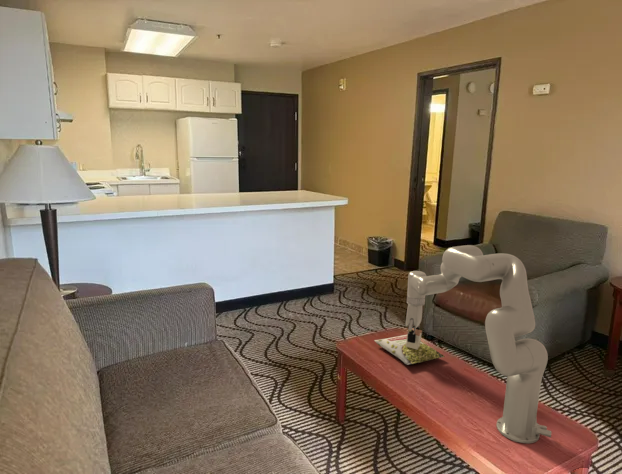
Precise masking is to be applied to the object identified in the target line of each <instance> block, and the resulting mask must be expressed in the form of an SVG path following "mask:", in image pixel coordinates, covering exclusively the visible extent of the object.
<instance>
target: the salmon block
mask: <svg viewBox="0 0 622 474" xmlns="http://www.w3.org/2000/svg"><path fill="white" fill-rule="evenodd" d="M412 330H413V331H414V328H412ZM422 333H423V330H421V329H420V330H418V329H416V330H415V334H416V338H415V343H411V342H408V331H407V334H406V335H407V341H406V347H409V348H413V349H416V350H417V349H418V348H419V346H420V341H421V340H422ZM421 342H422V341H421Z"/></svg>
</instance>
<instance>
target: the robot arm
mask: <svg viewBox="0 0 622 474" xmlns="http://www.w3.org/2000/svg"><path fill="white" fill-rule="evenodd" d="M440 272H441V273H439V274H433V275H427V274H426V273H425V272H424V271H421V270H413V271H409V273H408V275H407V277H408V278H407V291H406V292H407V294H406V304H407V308H406V309H407V310H406V317H405V327H408V329H407V330H408V342H411V343H415V338H416V334H415V330H416V329H418V330H421V329H420V327H421V325H420V324H421V323H422V318H423V306H425V304H426V296H429V295H435V294H442V293H446V292H448V291H450V290H452V289H453V288H454V287H456V286H457V285H458V284H459V281H460V279H461V278H464V279H466V280H469V281H472V282H475V283H476V282H477V283H482V282H483V283H484V282H489V281H494V280H501V284H500V288H499V297H500V300H501V301H500V302H501V307H497V308H494V309H492V310H490V311H489V312H488V313H487V315H486V317H485V321H484V326H485V327H484V328H485V334H486V339H487V343H488V349H489V354H490V359H491V362H492V364H493V367H494V369H495V370H496V371H497V372H498V373H499V374H501V375H502V376H505V377H507V378H506V385H505V394H504V402H503V403H504V404H503V411H502V416H501V417H500V418H498V419H497V421H496V428H497V430H498V432H499V433H500V434H501V435H502V436H504V437H505V438H507V439H509V440H510V441H512V442H515V443H521V444H533V443H536V442H537V441H539V439H540V437H541V436H544V437H548V438H552V430H549V429H547V428H548V427H547V426H546V425H543V424H539V423H538V422H537V420H538V419H537V413H538V406H539V401H540V400H539V399H540V394H541V393H540V392H541V385H542V381H543V378H544V377H543V376H544V372H545V370H546V367H547V364H548V360H549V359H548V356H549V354H548V351H547V349H546V347H545V345H544V344H543V343H542V342H541V341H539V340H537V339H535V338H521V339H518V340H516V337H521V336H524V335H528V334H530V333H532V332H533V331H534V330H535V328H536V318H535V314H534V313H535V312H534V310H533V305H532V300H531V299H532V298H531V296H530V291H529V287H528V286H529V285H528V276H527V270H526V267H525V264H524V263H523V262H522V260H521V259H520V258H518V257H517V256H515V255H513V254H510V253H506V252H505V253H503V252H502V253H501V252H500V253H489V254H485V255H484V253H483V251H482V249H480V248H479V246H478V247H477V246H476V245H473V244H467V245H466V244H465V245H457V246H452V247H451V246H450V247H448V248H447V249H446V250H445V251H444V252H443V255H442V258H441V264H440ZM412 328H414V331H413V330H412Z"/></svg>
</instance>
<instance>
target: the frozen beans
mask: <svg viewBox="0 0 622 474" xmlns="http://www.w3.org/2000/svg"><path fill="white" fill-rule="evenodd" d="M373 341H374V342H375V343H376V344H377V345H378V346H380V347H381V348H382V349H384V350H386V351H387V352H389V353H390V354H392V355H393V356H395V357H396V358H397V359H399V360H400V361H401V362H402V363H404V364H405V365H407V366H409V365H414V364H417V363H418V364H419V363H423V362H426V361H427V362H428V361H432V360H436V359H440V358H441V359H442V358H445V355H444V354H442V353H440V352H439V351H437V350H436V349H434V348H433V347H431V346H429V345H427V344H426V343H425V342H423V341H420V346H419V348H418V349H417V350H416V349H413V348H409V347H406V341H407V334H403V335H402V334H401V335H397V336H392V337H388V338H380V339H374V340H373Z"/></svg>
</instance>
